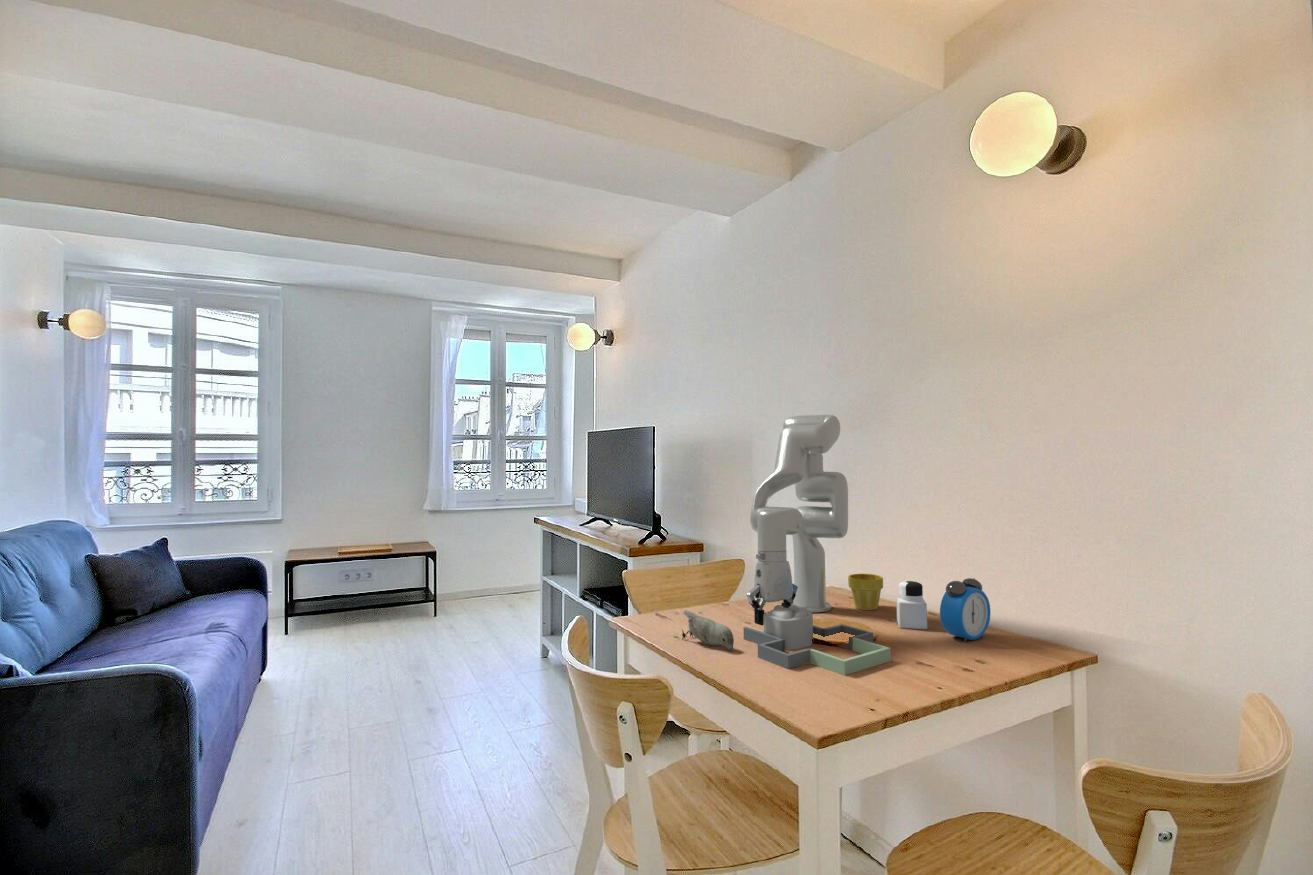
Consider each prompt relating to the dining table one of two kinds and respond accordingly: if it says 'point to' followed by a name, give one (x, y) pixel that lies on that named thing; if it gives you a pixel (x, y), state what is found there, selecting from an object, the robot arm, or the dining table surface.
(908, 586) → the medicine bottle
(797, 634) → the lumpy-topped squat cylinder
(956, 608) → the alarm clock
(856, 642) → the lane box
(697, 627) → the decorative bird
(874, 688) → the dining table surface
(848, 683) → the dining table surface
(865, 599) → the plant pot
